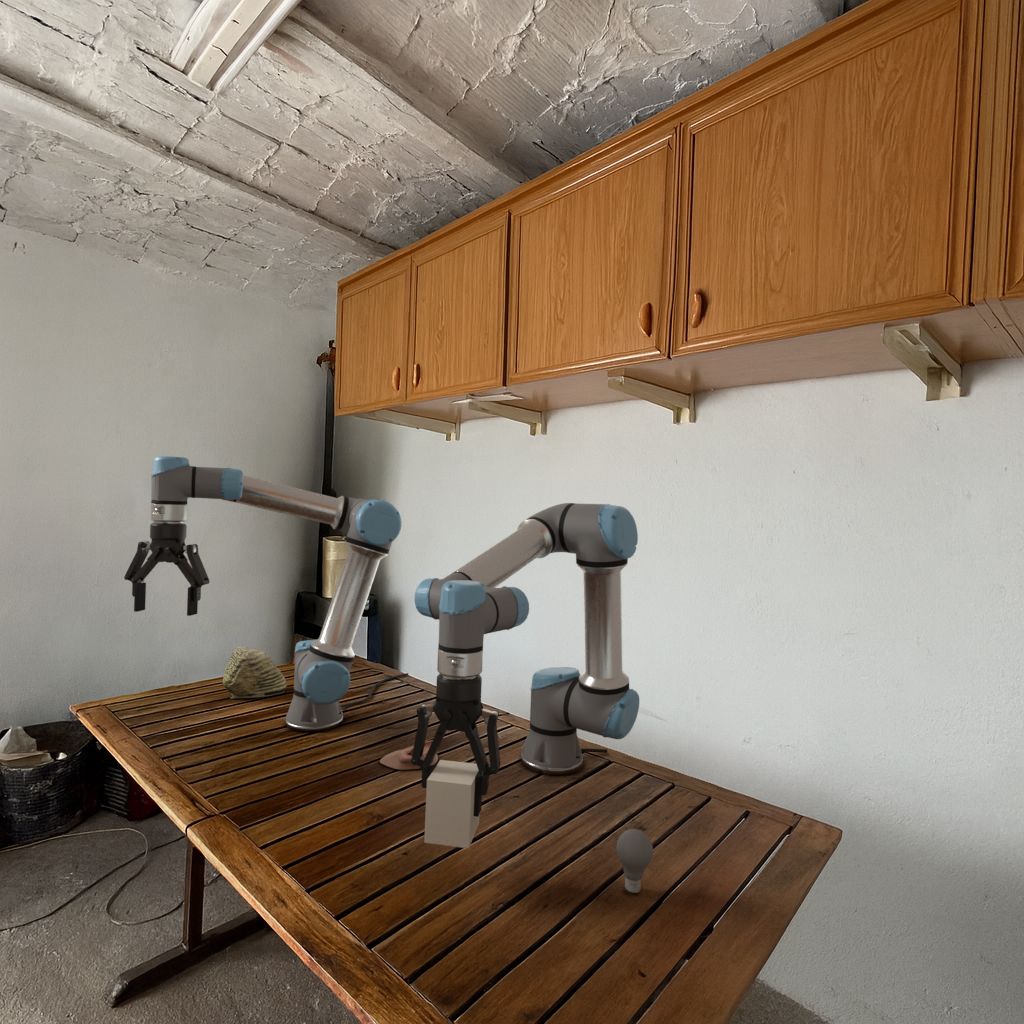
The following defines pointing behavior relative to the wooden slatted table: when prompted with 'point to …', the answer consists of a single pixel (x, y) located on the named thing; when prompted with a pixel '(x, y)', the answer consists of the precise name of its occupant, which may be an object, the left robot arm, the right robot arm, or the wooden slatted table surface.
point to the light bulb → (634, 857)
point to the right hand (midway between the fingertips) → (453, 809)
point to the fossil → (252, 674)
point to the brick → (451, 804)
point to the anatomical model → (405, 758)
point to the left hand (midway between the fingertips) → (165, 612)
